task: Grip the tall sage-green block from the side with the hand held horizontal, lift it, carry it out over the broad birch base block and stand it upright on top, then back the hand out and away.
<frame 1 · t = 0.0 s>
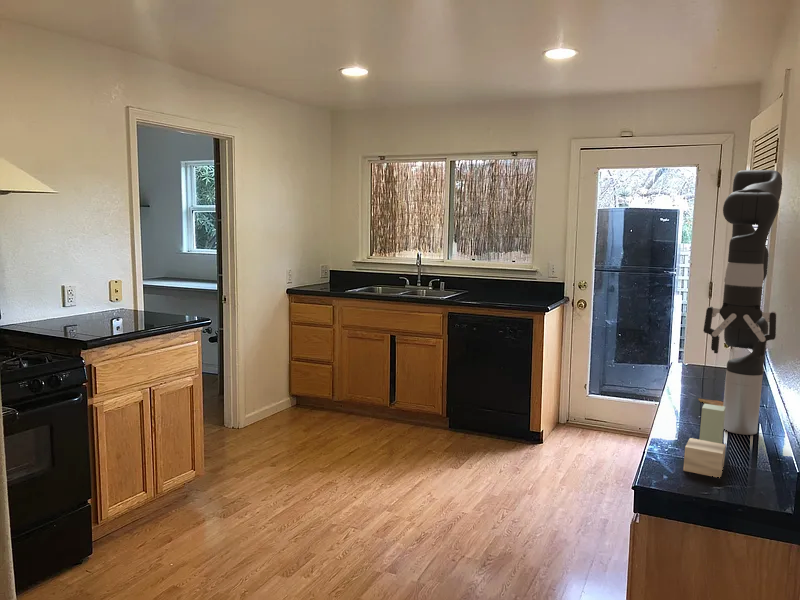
hand: (736, 355, 146), 29 cm above the table, tool pointing down, fingers open, 8 cm apart
birch base block: (703, 469, 156), on the table
sage block: (709, 452, 168), on the table
shard: (716, 408, 213), on the table
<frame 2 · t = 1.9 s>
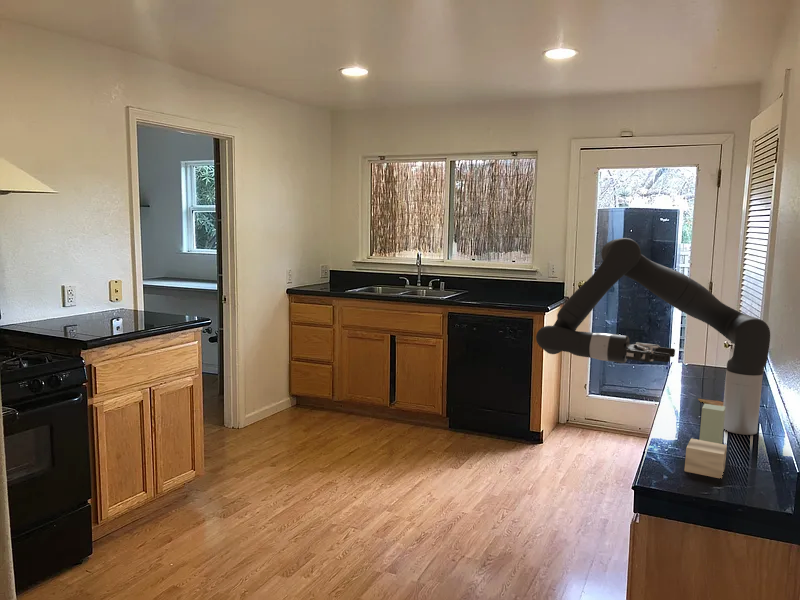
hand: (672, 355, 171), 24 cm above the table, tool horizontal, fingers open, 8 cm apart
nothing on the table moved.
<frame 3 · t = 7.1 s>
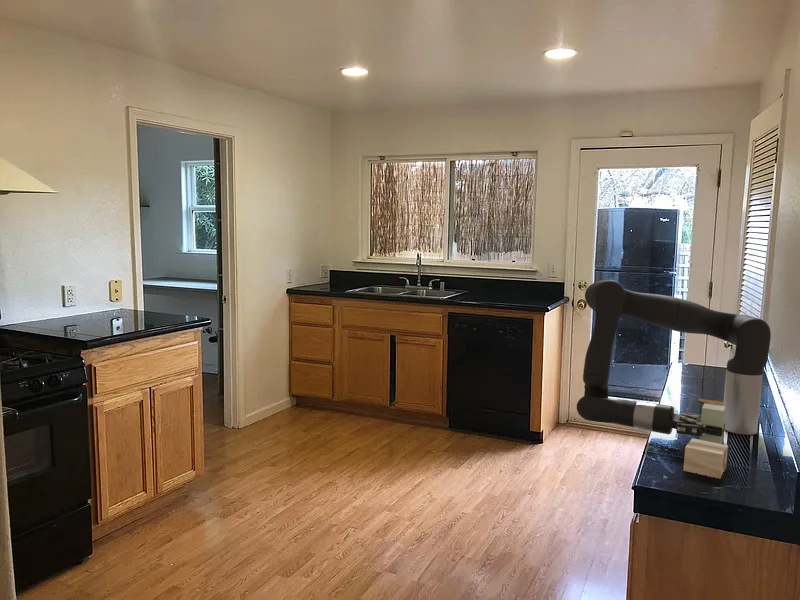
hand: (723, 429, 166), 7 cm above the table, tool horizontal, fingers closed on sage block, 5 cm apart
sage block: (709, 452, 168), on the table, touching gripper
everything else where it was.
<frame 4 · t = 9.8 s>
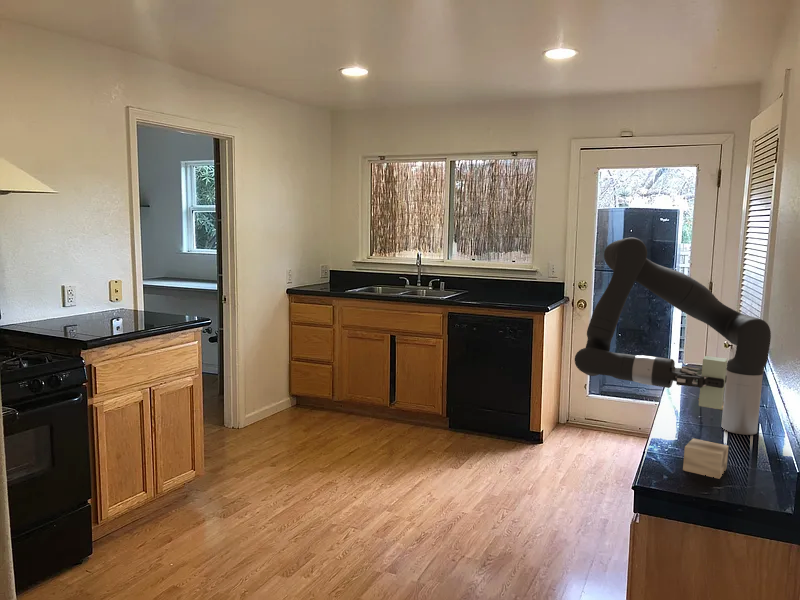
hand: (724, 381, 161), 20 cm above the table, tool horizontal, fingers closed on sage block, 5 cm apart
sage block: (710, 405, 163), point 13 cm above the table, touching gripper
everything else where it was.
when the fingers open (14 cm above the table, at t = 12.8 s): sage block drops 1 cm, point 6 cm above the table.
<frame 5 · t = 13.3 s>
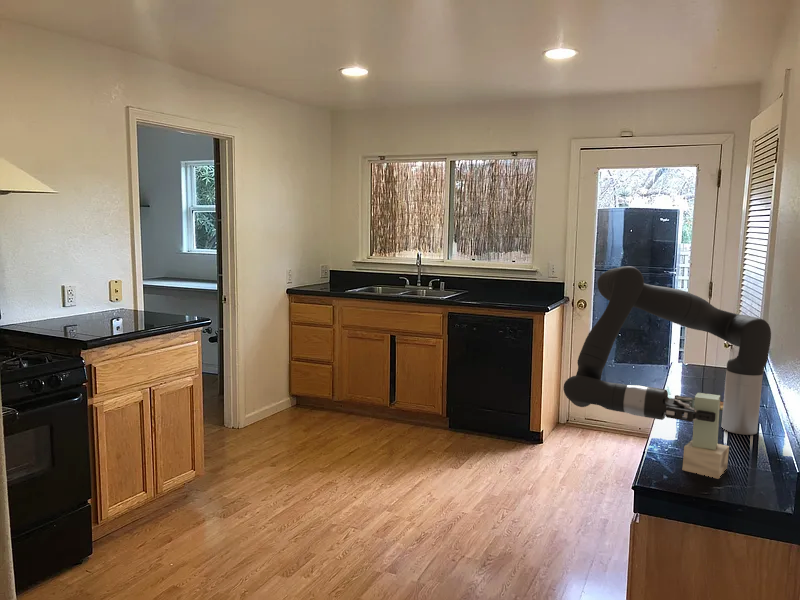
hand: (717, 413, 154), 14 cm above the table, tool horizontal, fingers open, 8 cm apart
sage block: (704, 445, 156), point 6 cm above the table
everything else where it was.
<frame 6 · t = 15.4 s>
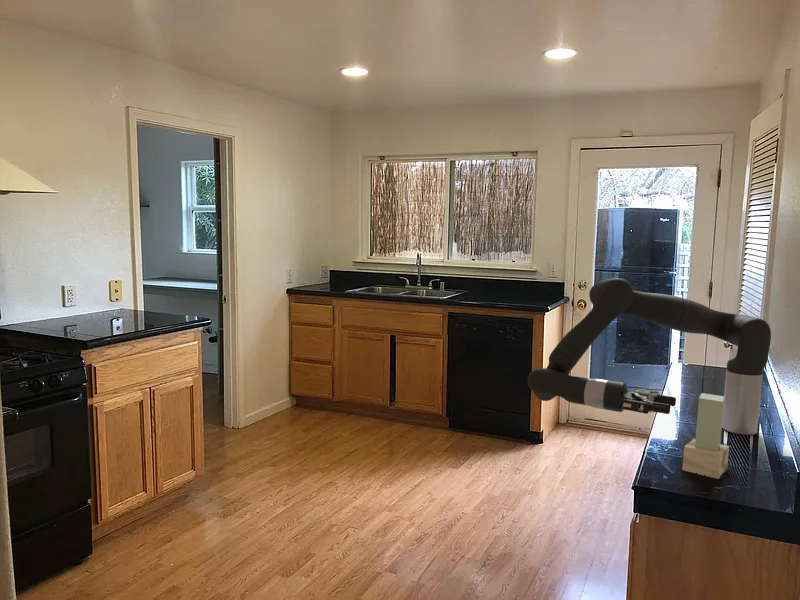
hand: (672, 405, 159), 14 cm above the table, tool horizontal, fingers open, 8 cm apart
birch base block: (704, 470, 156), on the table, touching sage block
sage block: (707, 445, 155), point 6 cm above the table, touching birch base block
everything else where it was.
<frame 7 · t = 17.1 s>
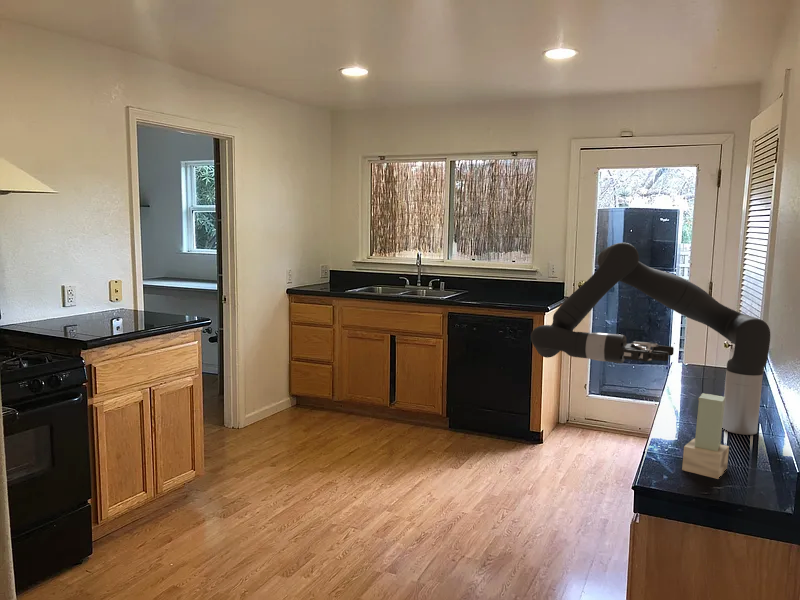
hand: (670, 353, 166), 25 cm above the table, tool horizontal, fingers open, 8 cm apart
birch base block: (704, 470, 156), on the table
sage block: (707, 446, 155), point 6 cm above the table
everything else where it was.
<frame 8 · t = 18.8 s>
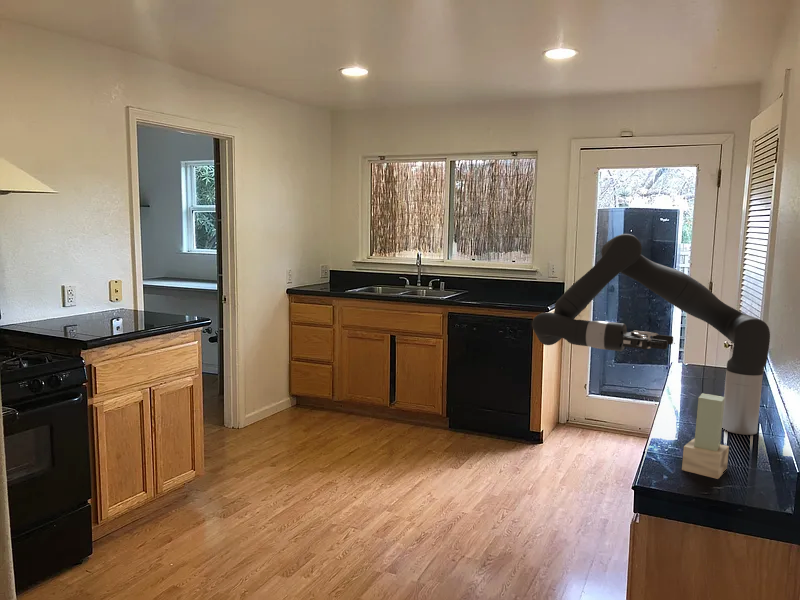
hand: (670, 342, 167), 28 cm above the table, tool horizontal, fingers open, 8 cm apart
birch base block: (704, 470, 156), on the table, touching sage block
sage block: (707, 446, 155), point 6 cm above the table, touching birch base block
everything else where it was.
at the end: sage block 0.2 cm off-centre on the birch base block, point 6.0 cm above the birch base block's base; sage block tilted 0°; birch base block moved 0.6 cm from its start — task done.
